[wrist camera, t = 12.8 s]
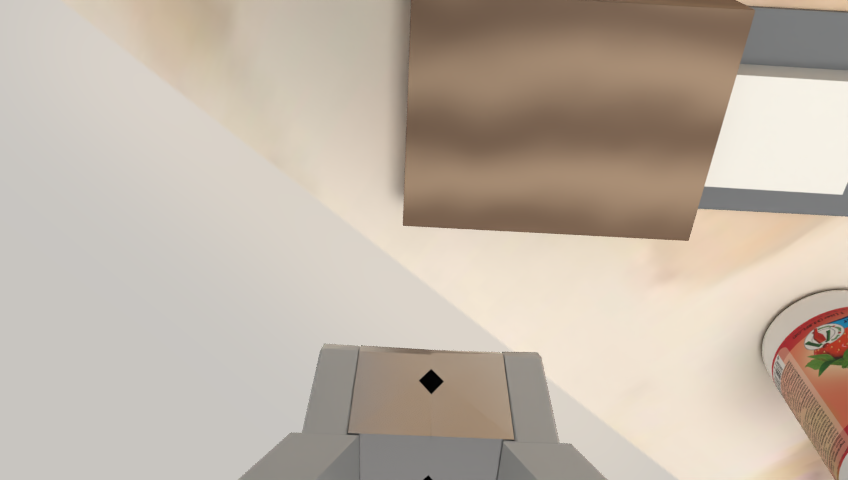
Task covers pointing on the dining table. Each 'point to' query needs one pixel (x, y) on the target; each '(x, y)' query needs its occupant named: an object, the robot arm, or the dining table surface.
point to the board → (567, 113)
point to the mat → (790, 47)
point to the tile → (784, 131)
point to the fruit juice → (814, 371)
